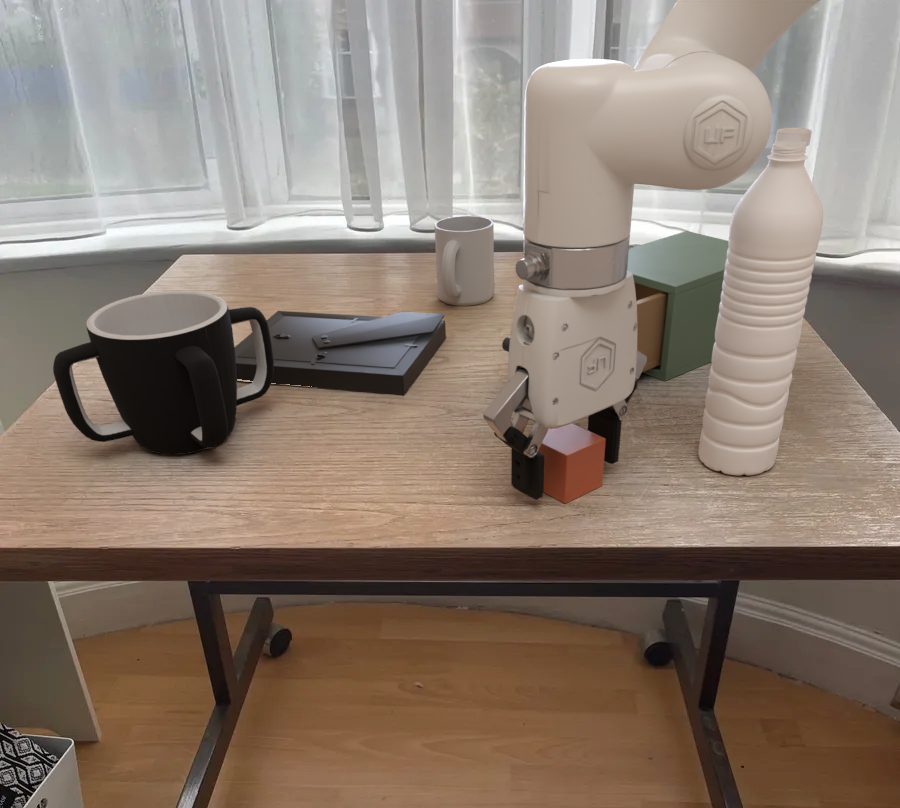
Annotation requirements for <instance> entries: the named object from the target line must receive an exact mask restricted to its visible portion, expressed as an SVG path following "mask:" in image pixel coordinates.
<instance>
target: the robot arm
mask: <svg viewBox="0 0 900 808" xmlns="http://www.w3.org/2000/svg"><path fill="white" fill-rule="evenodd" d="M820 1H821V0H676V2H675V3H674V5H673V7H672V8H671V9H670V11H669V12H668V14H667V16H666V17H665V19H664V20H663V21H662V22H661V24H660V26H659V27H658V29H657V30H656V32H655V33H654V35H653V37H652V38H651V39H650V41H649V42H648V45H647V46H646V47H645V49H644V50H643V52H642V53H641V55H640V57H639V58H638V60H637V62H636V64H635V65H634V66H632V65H630V64H628V63H627V62H624V61H620V60H614V59H605V58H578V59H577V58H576V59H566V60H558V61H552V62H549V63H544V64H543V65H541V66H539V67H537V68H536V69H534V71H532V73H531V75H530V76H529V78H528V80H527V82H526V86H525V92H524V116H523V117H524V118H523V119H524V122H523V123H524V124H523V125H524V127H523V128H524V130H523V131H524V132H523V209H522V210H523V212H522V213H523V215H522V216H523V225H522V228H523V229H522V232H523V233H522V234H523V235H522V249H523V250H522V259H519V260H518V261H516V264H515V273H516V276H517V277H518V278H519V279H521V280H522V283H521V284H519V285H518V287H517V292H516V296H515V301H514V305H513V306H514V307H513V312H512V319H511V326H510V335H509V337H510V345H509V352H508V360H507V383H506V384H505V385H504V387H503V388H502V389H501V390H500V392H499V393H498V394H497V395H496V397H495V398H494V399H493V400H492V401H491V402H490V404H489V405H488V406H487V408H486V409H485V410H484V412H483V420H484V421H485V422H486V424H487V425H488V426H489V427H490V429H491V430H492V431H493V434H494V436H495V437H496V438H498V439H499V440H500V441H502V442H503V443H504V445H505V446H506V447H508V448H510V449H511V452H510V453H511V454H510V455H511V461H510V463H511V464H510V465H511V466H510V467H511V468H510V469H511V471H510V472H511V474H510V475H511V478H510V479H511V480H510V481H511V483H510V484H511V486H512V488H514V489H515V490H516V491H518V492H521V493H522V494H524V495H526V496H527V497H530V498H531V499H533V500H535V501H537V500H539V499H541V498H543V495H544V492H543V491H544V455H543V454H542V453H540V452H538V451H539V449H540V446H541V444H542V442H543V440H544V438H545V435H546V433H547V431H548V429H556V428H560V427H563V426H565V425H568V424H570V423H573V424H574V423H575V422H578V421H580V420H582V419H585V418H587V430H588V431H590V432H592V433H595V434H597V435H599V436H601V437H603V438H605V439H606V441H605V454H604V463H607V464H610V465H613V464H616V463H618V462H619V456H620V445H621V435H622V433H621V432H622V421H623V420H622V419H623V418H625V417H626V416H627V414H628V413H629V405H628V404H629V403H628V402H629V401H630V400H631V398H632V397H633V395H634V393H635V391H636V390H637V389H638V381H637V380H639V379H640V377H641V376H642V371H643V369H644V367H645V365H646V362H647V356H646V355H644V354H643V353H641V352H639V351H638V350H637V302H636V292H635V285H634V279H633V274H632V273H631V272H630V271H628V270H627V266H628V254H629V249H630V242H631V241H630V239H631V231H632V228H631V227H632V219H633V218H632V216H633V203H634V193H635V192H634V191H635V185H642V186H643V185H644V186H653V187H660V188H661V187H662V188H671V189H678V190H690V191H703V190H711V189H716V188H720V187H722V186H725V185H727V184H730V183H732V182H734V181H735V180H737V179H739V178H741V177H742V176H743V175H744V174H746V173H747V172H748V171H749V170H750V169H751V168H752V167H753V166H754V165H755V164H756V163H757V162H758V160H759V159H760V157H761V155H762V154H763V152H764V150H765V149H766V146H767V144H768V141H769V139H770V134H771V130H772V124H773V123H772V122H773V113H772V110H773V109H772V104H771V101H770V98H769V97H770V96H769V94H768V93H767V92H768V91H767V90H766V87H765V86H764V85H763V83H762V81H761V80H760V79H759V78H758V77H757V75H756V74H754V71H755V69H756V68H757V67H758V65H759V64H760V63H761V62H762V60H763V59H764V58H765V57H766V56H767V54H768V53H769V52H770V50H771V49H772V48H773V46H775V44H777V42H778V41H779V40H780V38H781V37H782V36H783V35H784V34H785V33H787V31H788V30H789V29H790V28H791V27H792V26H793V25H794V24H795V23H796V22H797V21H798V20H799V19H800V18H801V17H802V16H803V15H804V14H806V12H808V11H809V10H810V9H811V8H812V7H813V6H815V5H816V4H817V3H818V2H820ZM513 413H515V414H514V416H513V418H512V415H513ZM529 421H532V422H534V424H533V426H532V427H531V430H530V432H529V435H528V436H527V435H526V434H524V433H525V430H526V428H527V425H528V424H529Z"/></svg>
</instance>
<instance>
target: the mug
mask: <svg viewBox="0 0 900 808" xmlns="http://www.w3.org/2000/svg"><path fill="white" fill-rule="evenodd" d="M267 320H268V319H267V318H266V316H265V315H264V314H263V313H262V311H261V310H260V309H258V308H256V307H254V306H245V307H238V308H229V305H228V303H227V302H226V301H225V300H224V299H223V298H221V297H220V296H218V295H216V294H213V293H208V292H204V291H196V290H163V291H155V292H147V293H142V294H137V295H136V294H135V295H133V296H129V297H126V298H122V299H119V300H116V301H113V302H110V303H108V304H106V305H104V306H102V307H101V308H99V309H97V310H95V311H94V312H93V313H92V314H91V315H90V316H89V317H88V318H87V320H86V324H85V326H86V330H87V334H88V338H89V342H86V343H81V344H78V345H76V346H73V347H70V348H68V349H65V350H62V351H59V352H58V353H57V354H56V355H55V357H54V360H53V366H52V372H53V376H54V380H55V382H56V383H55V384H56V386H57V389H58V393H59V396H60V398H61V401H62V404H63V407H64V410H65V412H66V415H67V416H68V418H69V420H70V421H71V423H72V424H73V425H74V427H75V428H76V429H77V430H78V431H79V432H80V433H81V435H83V436H84V437H85V438H87V439H89V440H90V441H94V442H101V443H105V442H110V441H111V442H112V441H116V440H120V439H124V438H129V437H133V439H134V440H135V442H136V443H137V444H138V445H139V447H141V448H143V449H144V450H146V451H148V452H151V453H155V454H160V455H185V454H192V453H197V452H200V451H203V450H207V449H213V448H217V447H219V446H222V445H223V444H224V443H225V442H226V441H228V437H229V436H230V435H231V433H232V432H233V430H234V428H235V423H236V419H237V407H238V406H240V405H244V404H247V403H249V402H252V401H255V400H258V399H260V398H261V397H263V396H264V395H266V393H267V392H268V390H269V389H270V387H271V385H272V384H271V381H272V377H273V371H274V359H273V350H272V343H271V337H270V332H269V327H268V322H267ZM246 322H249V325H250V330H251V333H253V338H254V343H255V351H256V360H257V370H256V375H255V378H254V380H253V382H252V383H249V384H247V385H245V386H241V387H238V382H237V379H236V356H235V348H234V347H235V340H234V332H233V331H234V330H233V325H236V324H240V323H246ZM93 359H95V360H96V362H97V365H98V367H99V369H100V372H101V376H102V378H103V381H104V382H105V385H106V388H107V389H108V391H109V393H110V396H111V398H112V401H113V403H114V405H115V408H116V409H117V412H118V413H119V415H120V417H121V419H122V420H120V421H116V422H111V423H108V424H102V425H98V424H96V423H94V422H93V421H92V420H91V419H90V417H89V416H88V414H87V413H86V409H85V408H84V406H83V402H82V400H81V397H80V394H79V391H78V387H77V384H76V381H75V377H74V376H75V375H74V371H73V366H74V364H77V363H80V362H81V363H82V362H85V361H89V360H93Z"/></svg>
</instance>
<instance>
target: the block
mask: <svg viewBox="0 0 900 808" xmlns="http://www.w3.org/2000/svg"><path fill="white" fill-rule="evenodd" d="M605 441H606V439H605V438H603V437H601V436H599V435H597V434H595V433H592V432H590V431H588V429H586V428H583V427H581V426H579V425H577V424H575V423H574V422H573V423H570V424H568V425H565V426H563V427H560V428H556V429H550V428H549V429H548V431H547V433H546V435H545V438H544V440H543V442H542V444H541V446H540V449H539V451H538V452H540V453H542V454H543V455H544V491H543V494H547V495H548V496H550V497H552V498H554V499H555V500H557V501H559V502H561V503H563V504H568V503H569V502H572V501H574V500H576V499H577V498H579V497H581V496H584V495H586V494H588V493H591V492H592V491H594V490H596V489H598V488H600V487H602V486H603V483H604V482H603V480H604V467H605V461H604V454H605Z"/></svg>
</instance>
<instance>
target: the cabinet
mask: <svg viewBox="0 0 900 808" xmlns="http://www.w3.org/2000/svg"><path fill="white" fill-rule="evenodd" d="M728 241H729V240H727V239H722V238H718V237H713V236H710V235H705V234H702V233H697V232H694V231H689V230H685V231H682V232H679V233H675V234H673V235H669V236H666V237H662V238H659V239H656V240H653V241H650V242H645V243H644V244H639V245H637V246H634V247H631V248H630V247H629V254H628V266H627V270H628V271H630V272H631V273H632V274H633V279H634V283H637V284H640V285H644V286H647V287H650V288H654V289H657V290H660V291H664V292H667V293H669V294H668V303H667V313H666V322H665V331H664V341H663V350H662V359H661V365H659V366H656V367H654V368H651V369H649V370H646V371H644V372H642V373H643V374H645V375H648V376H651V377H653V378H656V379H658V380H661V381H664V382H667V381H669V380H671V379H674V378H677V377H679V376H682V375H684V374H686V373H688V372H690V371H693V370H695V369H697V368H700V367H702V366H705V365H707V364H709V363H712V352H713V346H714V343H715V341H716V340H715V330H716V324H717V318H718V313H719V305H720V301H721V292H722V284H723V280H724V271H725V262H726V259H727V250H728V247H729V246H728ZM642 373H641V374H642Z"/></svg>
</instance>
